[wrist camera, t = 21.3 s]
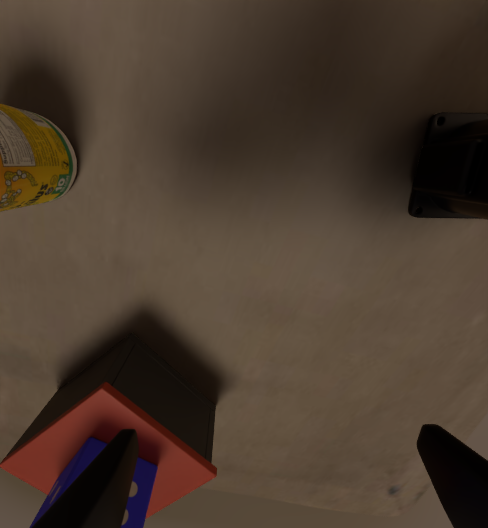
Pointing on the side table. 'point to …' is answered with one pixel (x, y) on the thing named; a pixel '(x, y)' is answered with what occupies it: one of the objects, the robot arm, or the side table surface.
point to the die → (138, 491)
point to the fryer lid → (105, 429)
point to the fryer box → (139, 394)
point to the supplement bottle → (32, 159)
